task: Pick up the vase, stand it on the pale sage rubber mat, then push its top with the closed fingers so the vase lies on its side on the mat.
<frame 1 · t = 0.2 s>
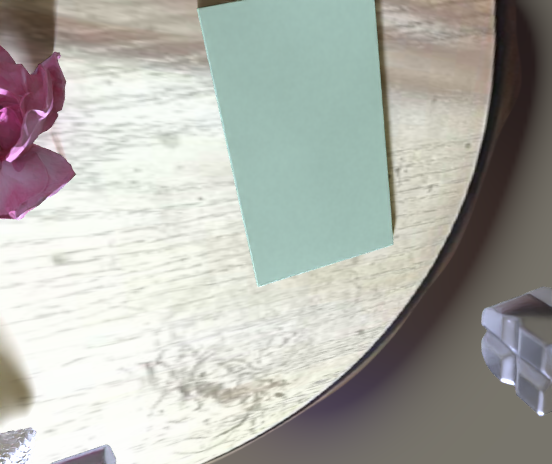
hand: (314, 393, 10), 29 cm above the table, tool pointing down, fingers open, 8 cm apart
mat: (308, 143, 39), on the table
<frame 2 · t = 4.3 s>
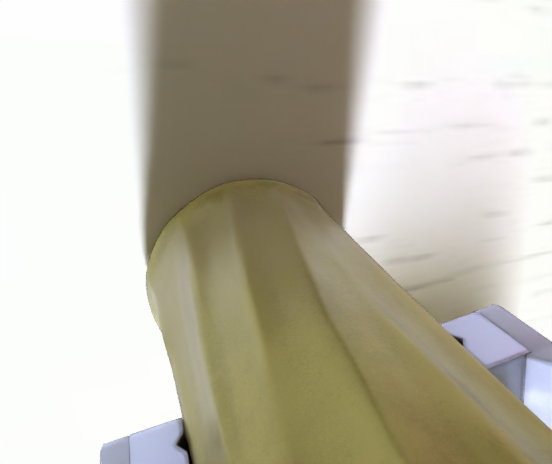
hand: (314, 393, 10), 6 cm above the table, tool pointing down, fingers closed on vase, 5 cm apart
vase: (246, 270, 15), on the table, touching gripper
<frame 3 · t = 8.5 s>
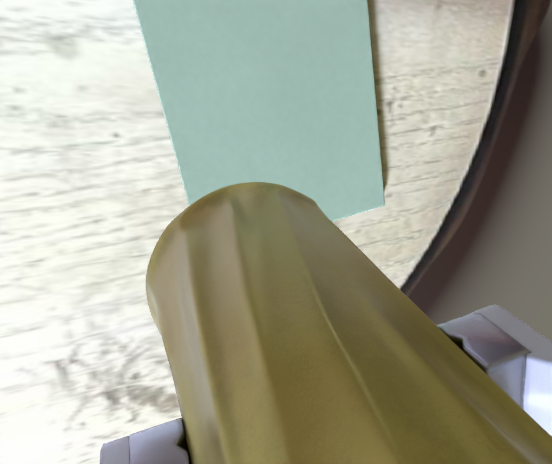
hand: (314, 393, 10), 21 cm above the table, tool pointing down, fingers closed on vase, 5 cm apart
vase: (246, 273, 15), point 16 cm above the table, touching gripper
mat: (266, 60, 28), on the table
when the fingers open (6 cm above the table, at t = 13.0 s): vase stays where it is, resting on mat.
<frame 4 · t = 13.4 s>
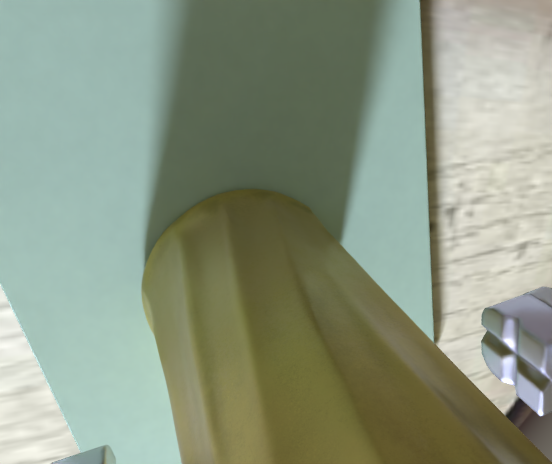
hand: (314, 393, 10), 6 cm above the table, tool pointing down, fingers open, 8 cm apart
vase: (241, 279, 15), resting on mat
mat: (214, 147, 14), on the table
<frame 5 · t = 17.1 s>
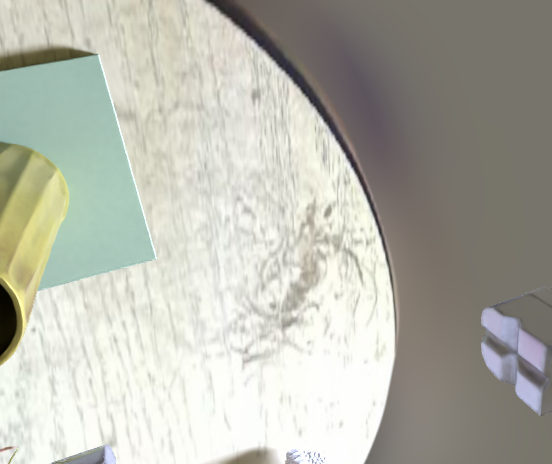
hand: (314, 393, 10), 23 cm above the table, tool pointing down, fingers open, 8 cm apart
vase: (13, 193, 28), resting on mat
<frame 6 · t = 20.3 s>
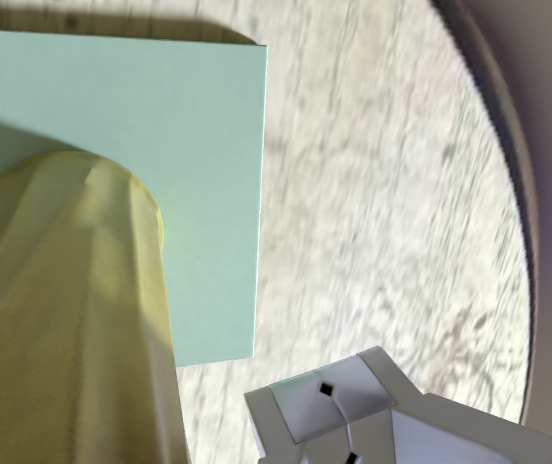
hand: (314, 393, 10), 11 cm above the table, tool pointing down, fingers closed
vase: (76, 231, 18), resting on mat, touching gripper
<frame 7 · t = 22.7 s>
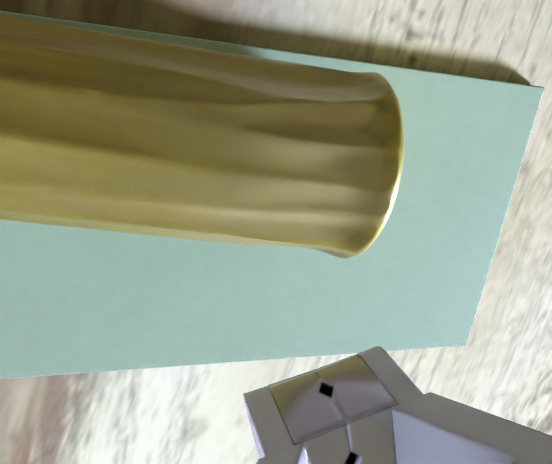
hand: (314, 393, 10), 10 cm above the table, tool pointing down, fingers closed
vase: (362, 168, 16), point 4 cm above the table, touching mat
mat: (280, 220, 20), on the table
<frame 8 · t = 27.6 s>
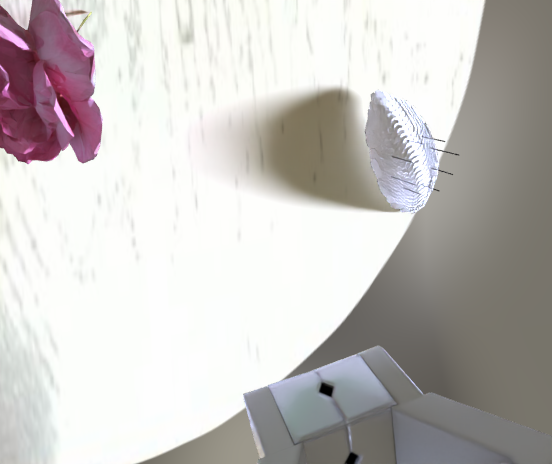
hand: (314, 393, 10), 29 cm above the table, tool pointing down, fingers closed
flower: (24, 75, 32), on the table
pincushion: (391, 154, 42), on the table
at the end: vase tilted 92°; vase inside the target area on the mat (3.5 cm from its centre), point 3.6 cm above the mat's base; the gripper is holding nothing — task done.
